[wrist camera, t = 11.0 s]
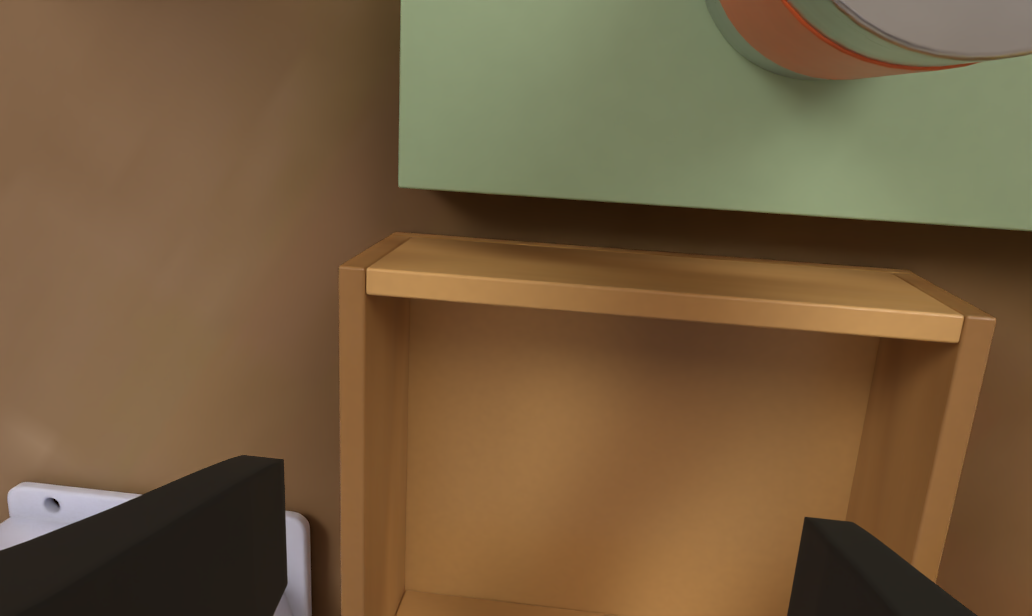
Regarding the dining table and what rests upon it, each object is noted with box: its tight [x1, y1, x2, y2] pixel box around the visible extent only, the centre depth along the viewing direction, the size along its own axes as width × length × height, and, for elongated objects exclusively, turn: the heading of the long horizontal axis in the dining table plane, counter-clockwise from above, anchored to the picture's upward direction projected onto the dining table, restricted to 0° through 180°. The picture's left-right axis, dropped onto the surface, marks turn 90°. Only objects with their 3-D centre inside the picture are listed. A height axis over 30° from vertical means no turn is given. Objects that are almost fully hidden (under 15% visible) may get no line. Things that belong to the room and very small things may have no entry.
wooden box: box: [338, 232, 996, 616], centre depth 19 cm, size 13×11×4 cm
